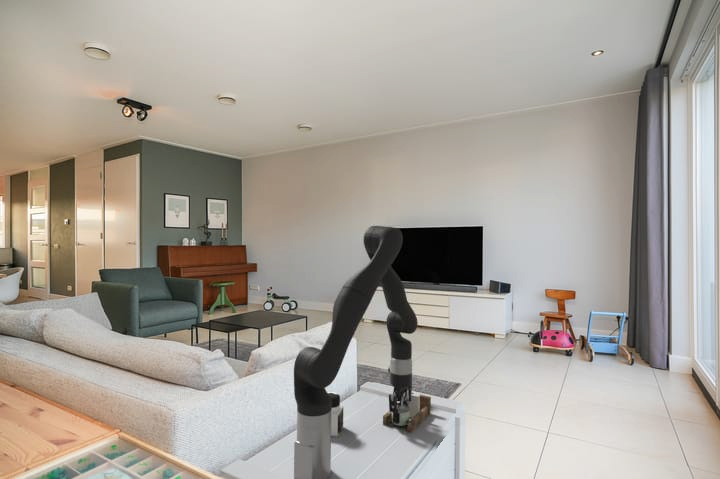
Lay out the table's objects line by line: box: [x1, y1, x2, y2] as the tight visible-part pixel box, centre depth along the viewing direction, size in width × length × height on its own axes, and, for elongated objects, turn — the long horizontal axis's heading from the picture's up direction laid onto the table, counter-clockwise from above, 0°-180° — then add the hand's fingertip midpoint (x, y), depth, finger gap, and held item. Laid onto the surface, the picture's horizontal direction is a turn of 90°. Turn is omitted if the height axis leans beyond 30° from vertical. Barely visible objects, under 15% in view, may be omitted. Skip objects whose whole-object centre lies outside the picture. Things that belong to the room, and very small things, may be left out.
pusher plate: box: [408, 394, 420, 419], centre depth 142 cm, size 7×7×8 cm
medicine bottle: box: [327, 391, 344, 438], centre depth 129 cm, size 7×7×12 cm
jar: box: [391, 404, 410, 427], centre depth 133 cm, size 6×6×5 cm
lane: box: [382, 392, 432, 434], centre depth 138 cm, size 18×11×6 cm, turn 149°
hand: (400, 419), depth 133 cm, fingers closed on jar, 6 cm apart
